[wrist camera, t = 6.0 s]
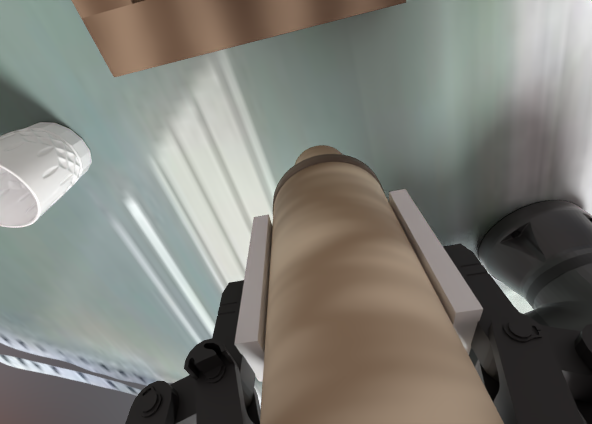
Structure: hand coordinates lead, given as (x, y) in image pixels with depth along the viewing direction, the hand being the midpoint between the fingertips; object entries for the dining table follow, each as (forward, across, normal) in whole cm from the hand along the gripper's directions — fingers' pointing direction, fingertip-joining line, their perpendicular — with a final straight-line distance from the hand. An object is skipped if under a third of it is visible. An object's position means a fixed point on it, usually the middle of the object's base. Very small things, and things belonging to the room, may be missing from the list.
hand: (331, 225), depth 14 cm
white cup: (+21, +30, -2) cm, 37 cm away
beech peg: (+6, 0, 0) cm, 6 cm away
